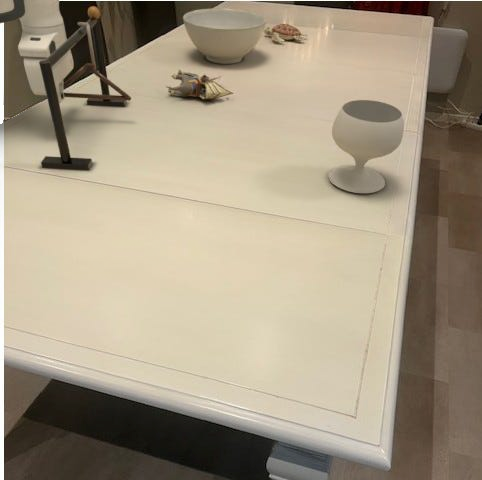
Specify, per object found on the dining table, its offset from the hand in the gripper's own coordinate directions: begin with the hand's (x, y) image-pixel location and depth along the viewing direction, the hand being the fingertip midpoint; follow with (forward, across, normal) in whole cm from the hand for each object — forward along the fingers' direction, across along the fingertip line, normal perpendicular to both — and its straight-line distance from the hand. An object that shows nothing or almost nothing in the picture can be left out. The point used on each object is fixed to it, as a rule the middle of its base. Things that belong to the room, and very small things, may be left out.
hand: (59, 101), depth 116 cm
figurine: (+6, -23, +32) cm, 40 cm away
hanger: (0, -2, +7) cm, 8 cm away
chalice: (+6, +22, +70) cm, 74 cm away
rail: (+5, +5, +7) cm, 10 cm away
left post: (+5, -14, +7) cm, 17 cm away
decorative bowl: (+6, -60, +36) cm, 70 cm away
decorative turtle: (+6, -88, +58) cm, 106 cm away
